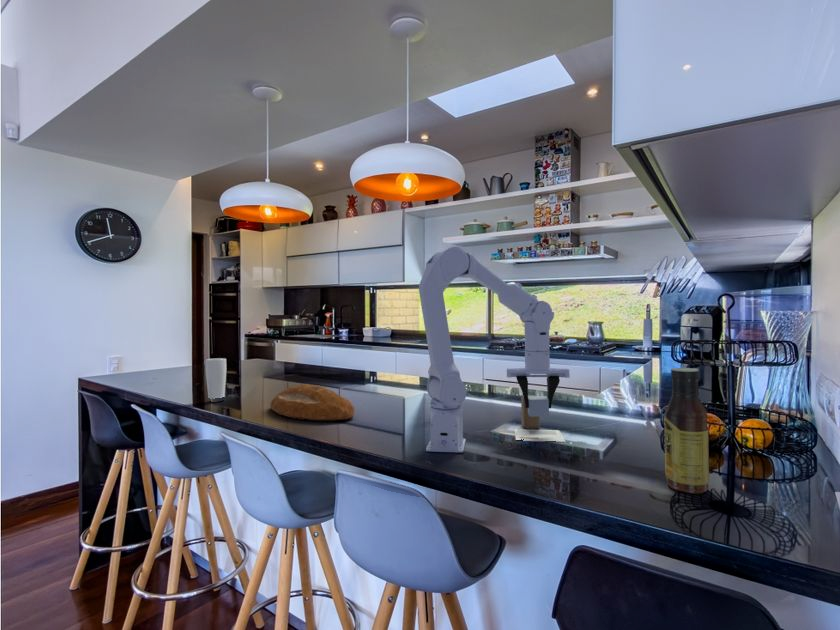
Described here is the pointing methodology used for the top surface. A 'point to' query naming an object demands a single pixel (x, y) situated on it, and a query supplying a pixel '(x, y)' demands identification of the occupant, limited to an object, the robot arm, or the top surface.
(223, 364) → the drinking glass
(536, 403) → the slate cube
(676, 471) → the sauce bottle
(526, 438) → the letter
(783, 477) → the top surface
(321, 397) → the bread
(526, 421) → the wooden block
